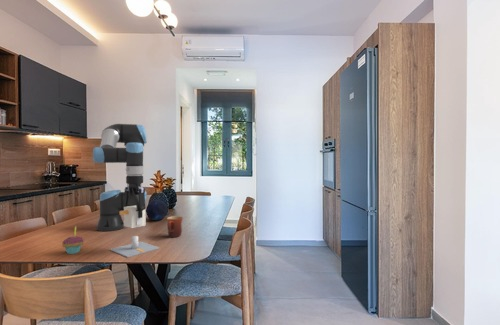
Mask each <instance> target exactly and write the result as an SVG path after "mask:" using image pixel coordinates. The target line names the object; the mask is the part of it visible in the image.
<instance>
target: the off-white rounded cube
mask: <svg viewBox="0 0 500 325" xmlns="http://www.w3.org/2000/svg"><path fill="white" fill-rule="evenodd" d="M145 208H147V206H145ZM136 210H137V206H136V205H135V206H127V207H124V211H119V215H121V216H122V215H123V223H124V227H127V228H129V229H133V228H134V229H135V228H140V227H145V226H146V222H147V220H146V219H147V218H146V216H147V214H146V209H145V210H143V211H142V224H141V225H136Z"/></svg>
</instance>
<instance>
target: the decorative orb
mask: <svg viewBox="0 0 500 325" xmlns="http://www.w3.org/2000/svg"><path fill="white" fill-rule="evenodd" d="M167 214H168V206H167V203H165V202H164V201H163V200H161V199H155V200H151V201H150V202H149V203H148V204H147V206H146V216H147V218H149V220H151V221H156V222H157V221H158V222H159V221H162V220H163V219H164V218H166V216H167Z"/></svg>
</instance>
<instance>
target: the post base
mask: <svg viewBox="0 0 500 325" xmlns="http://www.w3.org/2000/svg"><path fill="white" fill-rule="evenodd" d="M159 249H160V246H157V245H153V244H150V243H147V242H145V241H144V242H143V241H139V235H132V236H131V243H129V244H125V245H122V246H117V247H113V248H110V249H109V251H112V252H114V253H116V254H118V255H120V256H123V257H125V258H131V257H134V256H137V255H141V254H145V253H149V252H152V251H155V250H159Z"/></svg>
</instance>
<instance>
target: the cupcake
mask: <svg viewBox="0 0 500 325" xmlns="http://www.w3.org/2000/svg"><path fill="white" fill-rule="evenodd" d="M76 235H77V225H75V226H74V233H73V236H69V237H68V238H66V239H64V240H63V241H62V244H61V245H62V247H63V248H64V249H65V251H66V254H69V255H73V254H77V253H79V252H80V250H81V247H82V245H84V243H85V241H84V240H85V239H83V237H80V236H76Z"/></svg>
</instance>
